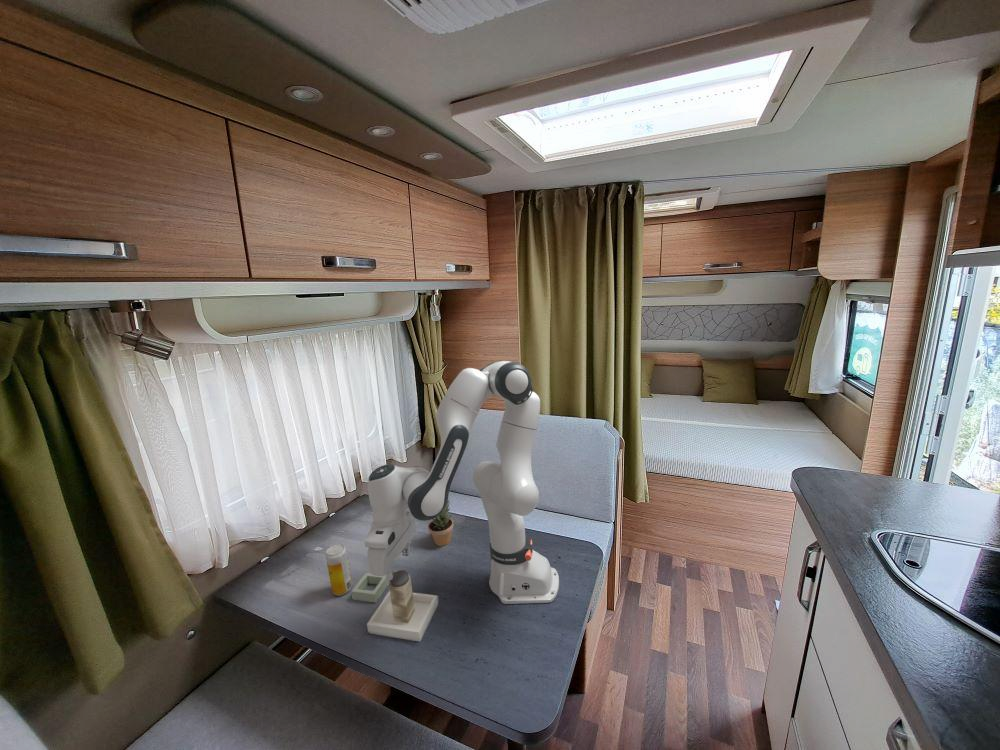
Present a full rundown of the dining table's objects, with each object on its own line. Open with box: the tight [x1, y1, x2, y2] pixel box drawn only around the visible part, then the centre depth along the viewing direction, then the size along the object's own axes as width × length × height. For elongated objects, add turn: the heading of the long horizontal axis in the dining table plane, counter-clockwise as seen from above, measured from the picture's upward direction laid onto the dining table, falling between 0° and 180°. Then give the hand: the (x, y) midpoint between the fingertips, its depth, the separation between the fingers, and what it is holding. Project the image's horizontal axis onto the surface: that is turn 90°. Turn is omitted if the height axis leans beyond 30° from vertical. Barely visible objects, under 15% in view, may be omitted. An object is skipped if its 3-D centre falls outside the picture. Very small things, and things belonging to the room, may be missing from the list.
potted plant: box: [427, 499, 454, 547], centre depth 143 cm, size 10×10×25 cm
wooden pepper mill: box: [388, 569, 415, 623], centre depth 110 cm, size 5×5×13 cm
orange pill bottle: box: [325, 543, 353, 597], centre depth 123 cm, size 6×6×15 cm
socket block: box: [350, 572, 390, 604], centre depth 123 cm, size 8×8×3 cm
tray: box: [366, 590, 440, 642], centre depth 111 cm, size 16×13×3 cm
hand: (398, 565), depth 108 cm, fingers open, 8 cm apart
